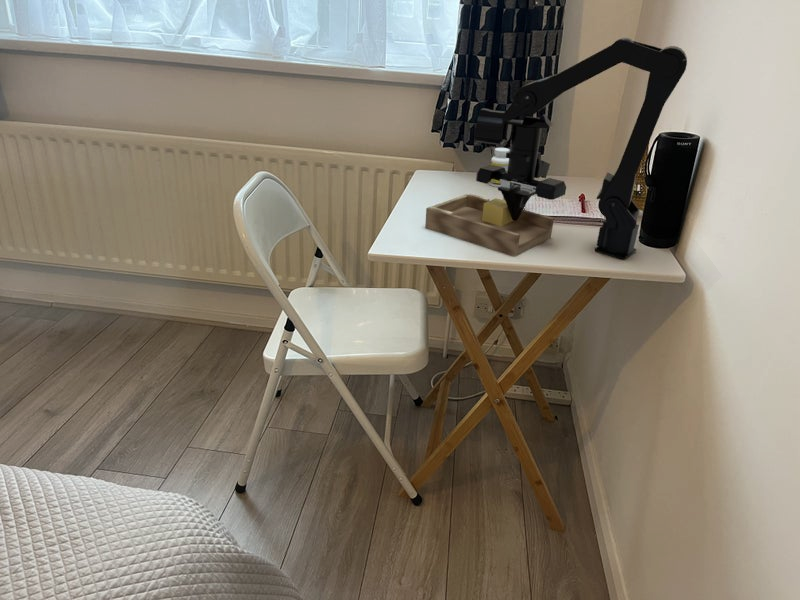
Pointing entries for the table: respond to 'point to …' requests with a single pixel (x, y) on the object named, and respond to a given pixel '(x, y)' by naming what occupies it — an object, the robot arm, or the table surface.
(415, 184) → the table surface
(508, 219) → the block
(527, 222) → the wooden tray
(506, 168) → the supplement bottle
